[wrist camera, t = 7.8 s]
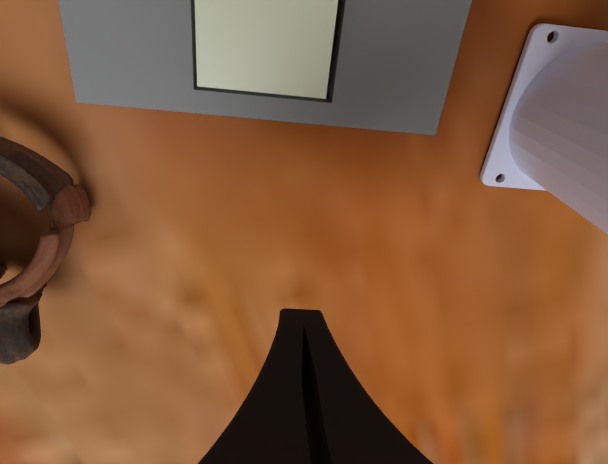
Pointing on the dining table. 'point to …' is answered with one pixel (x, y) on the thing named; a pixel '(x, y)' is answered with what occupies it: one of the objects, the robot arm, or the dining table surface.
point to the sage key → (265, 45)
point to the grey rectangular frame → (224, 102)
